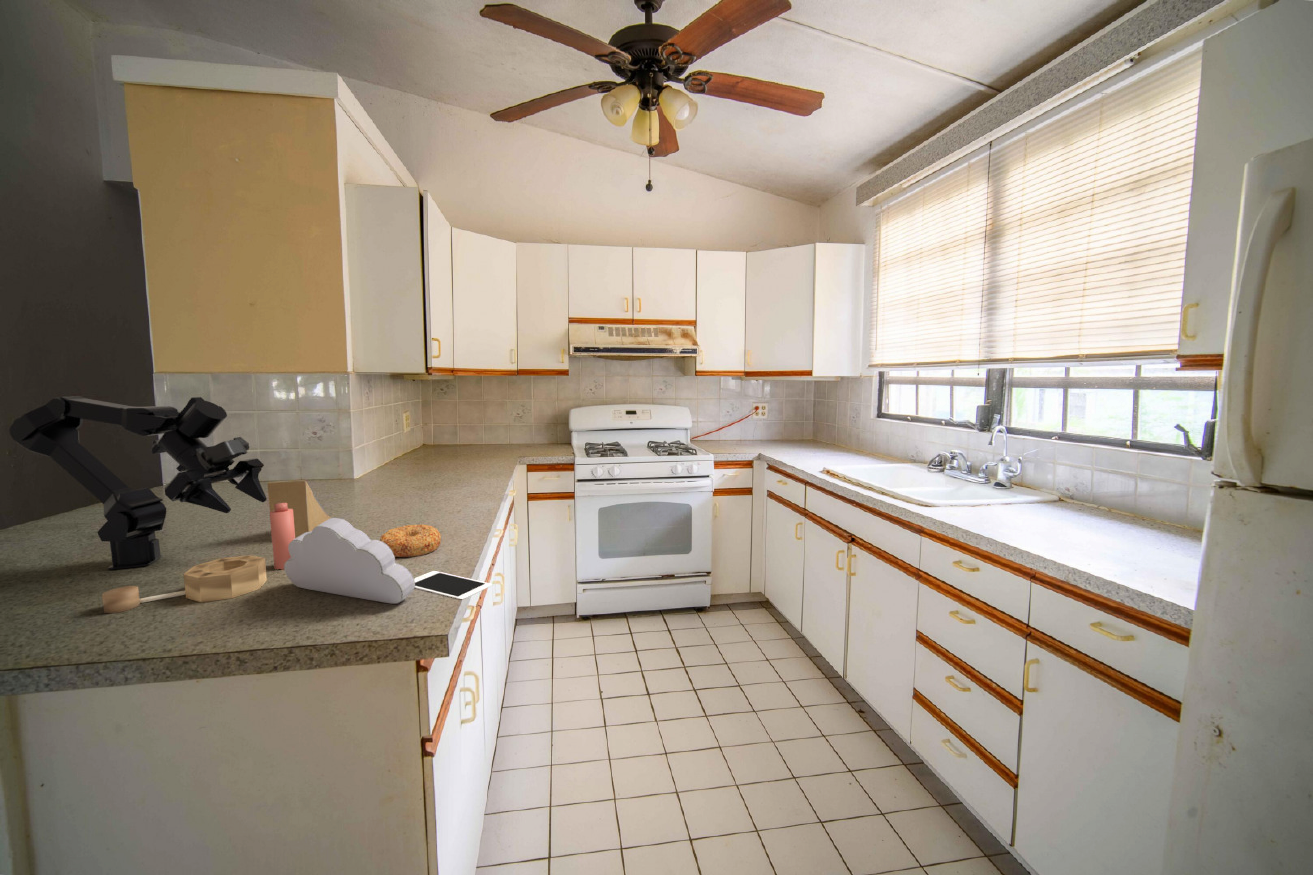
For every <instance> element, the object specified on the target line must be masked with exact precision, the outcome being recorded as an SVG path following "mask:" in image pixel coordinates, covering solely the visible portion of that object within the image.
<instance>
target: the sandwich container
mask: <svg viewBox="0 0 1313 875" xmlns="http://www.w3.org/2000/svg"><path fill="white" fill-rule="evenodd" d="M266 486H267V493H268V494H267V495H268V504H269V513H270V512H271V511H274V510H275V506H274V505H275V504H277V503H287V506H288V509H293V515H294V528H295V538H297V537H299V536H300V535H302V534H304V533H306V532H310V531H312V530H313V529H314V528H315V527H316V526H318V525H320V524H321V523H323V522H325V521H327V520H328V519H330V518H331V516H329V514H328V512H327V511H326V510H325V508H324V507H323V505H322V504H321V503H320V501H319V499H318V497H316V495H315V494H314V492H313V491H312V489H311V487H310V486H309V483H308V482H307V481H306V480H277V481H268V482H267V484H266Z"/></svg>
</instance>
